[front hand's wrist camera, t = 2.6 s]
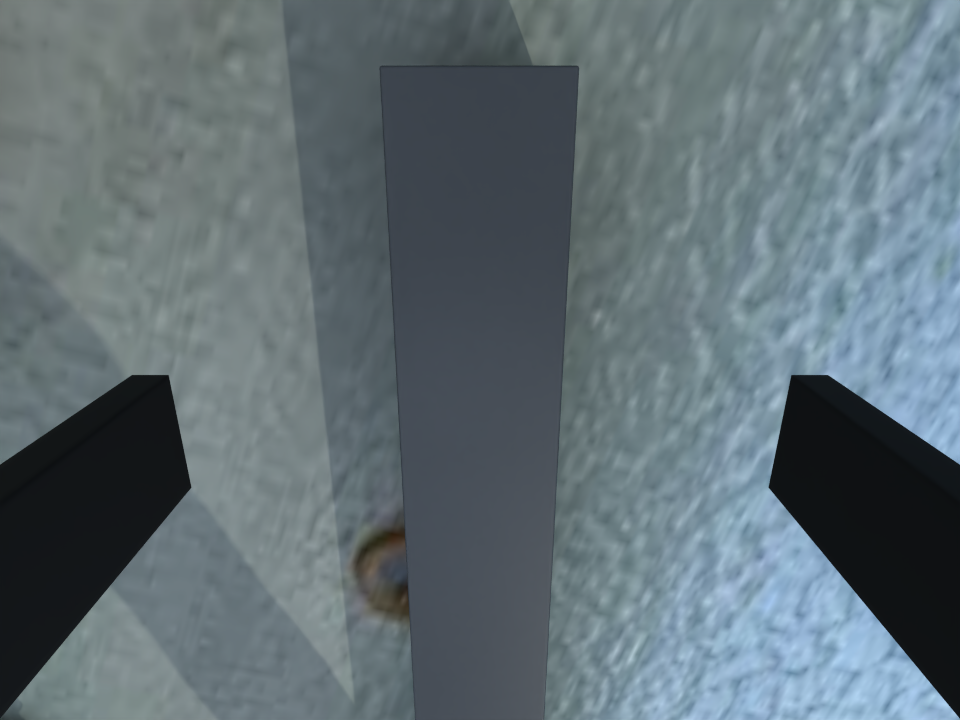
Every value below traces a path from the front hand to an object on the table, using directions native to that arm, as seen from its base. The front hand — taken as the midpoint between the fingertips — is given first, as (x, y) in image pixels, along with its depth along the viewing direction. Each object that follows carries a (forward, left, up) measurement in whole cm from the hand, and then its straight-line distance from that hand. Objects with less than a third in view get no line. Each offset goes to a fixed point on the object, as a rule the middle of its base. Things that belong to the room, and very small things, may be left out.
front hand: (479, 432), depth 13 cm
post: (+22, +10, -12) cm, 27 cm away
